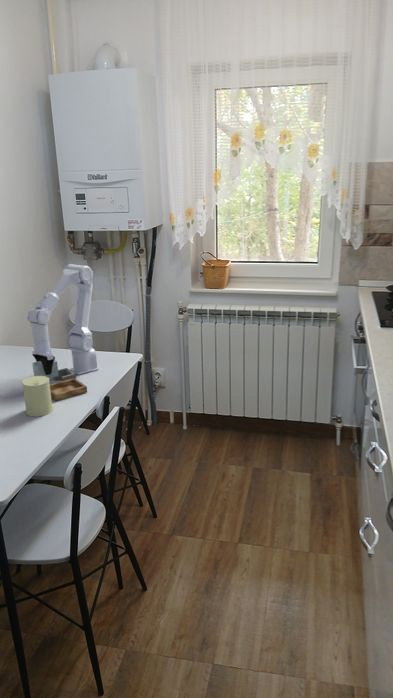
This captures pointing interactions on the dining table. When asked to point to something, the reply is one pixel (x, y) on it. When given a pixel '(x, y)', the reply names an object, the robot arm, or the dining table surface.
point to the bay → (65, 374)
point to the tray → (67, 389)
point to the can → (37, 395)
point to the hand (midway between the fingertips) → (45, 372)
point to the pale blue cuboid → (39, 369)
